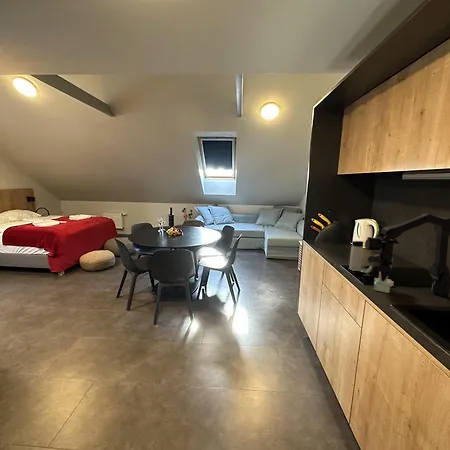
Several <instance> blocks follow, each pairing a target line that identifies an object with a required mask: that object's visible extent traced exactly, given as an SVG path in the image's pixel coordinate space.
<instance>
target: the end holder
mask: <svg viewBox="0 0 450 450" xmlns="http://www.w3.org/2000/svg"><path fill="white" fill-rule="evenodd" d="M373 289H374V290H373V291H378V292H382V293H387V294H390V290H391V286H390V283H387V284H385V283H380V282H378V281H375V283H374V282H373Z"/></svg>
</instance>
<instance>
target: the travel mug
mask: <svg viewBox="0 0 450 450" xmlns="http://www.w3.org/2000/svg"><path fill="white" fill-rule="evenodd" d="M351 241H352V240H351ZM351 243H352V244H351V251H350V258H349V259H350V260H349V267H348V270H349V269H350V270H352V271H360V272H361V267H362V266H361V265H362V256H363V249H364V248H363V247H364V241H362V240H355V241H354V240H353V241H352V242H351Z"/></svg>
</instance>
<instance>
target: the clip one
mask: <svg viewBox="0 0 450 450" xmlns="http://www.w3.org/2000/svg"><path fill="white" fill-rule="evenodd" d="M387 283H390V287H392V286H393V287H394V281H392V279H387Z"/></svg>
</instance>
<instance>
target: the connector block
mask: <svg viewBox="0 0 450 450" xmlns="http://www.w3.org/2000/svg"><path fill="white" fill-rule="evenodd" d="M378 278H379V279H378V282H380V283H385V284H387V279H388V278H389V275H388V276H387V278H386V279H385V281H382V280H381V272H380V271H379V273H378Z"/></svg>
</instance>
